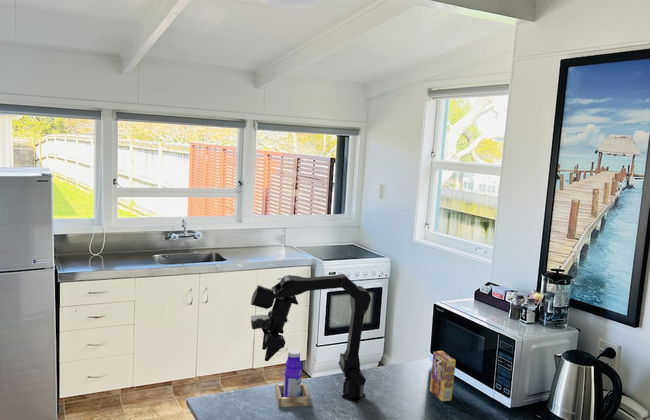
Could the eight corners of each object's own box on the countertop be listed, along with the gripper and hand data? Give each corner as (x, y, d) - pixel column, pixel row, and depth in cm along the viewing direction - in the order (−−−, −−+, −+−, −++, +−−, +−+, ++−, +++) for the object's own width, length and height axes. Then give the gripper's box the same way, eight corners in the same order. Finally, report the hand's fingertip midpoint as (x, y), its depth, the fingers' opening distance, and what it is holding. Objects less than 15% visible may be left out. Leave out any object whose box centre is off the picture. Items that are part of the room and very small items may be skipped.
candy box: (452, 400, 198) (456, 360, 196) (442, 402, 196) (446, 361, 194) (439, 389, 206) (443, 350, 204) (429, 390, 205) (432, 351, 202)
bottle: (297, 405, 188) (299, 356, 186) (281, 402, 189) (283, 354, 187) (302, 395, 195) (305, 348, 193) (286, 392, 196) (289, 346, 194)
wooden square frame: (304, 391, 199) (305, 383, 198) (309, 405, 188) (309, 397, 188) (275, 392, 196) (275, 384, 196) (278, 407, 186) (278, 398, 186)
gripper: (254, 297, 193) (240, 338, 195) (259, 315, 175) (243, 361, 177) (284, 305, 196) (270, 346, 197) (292, 324, 178) (276, 369, 179)
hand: (264, 355), depth 188 cm, fingers open, 9 cm apart
